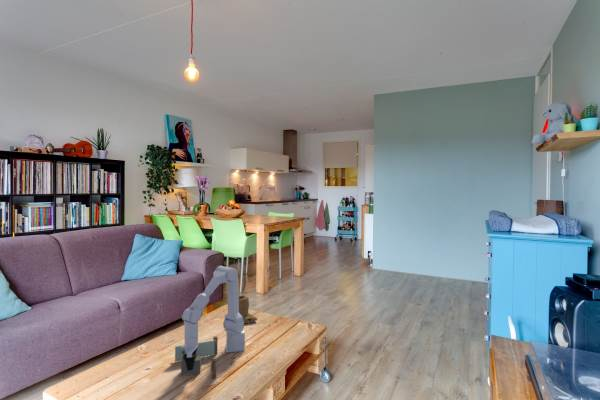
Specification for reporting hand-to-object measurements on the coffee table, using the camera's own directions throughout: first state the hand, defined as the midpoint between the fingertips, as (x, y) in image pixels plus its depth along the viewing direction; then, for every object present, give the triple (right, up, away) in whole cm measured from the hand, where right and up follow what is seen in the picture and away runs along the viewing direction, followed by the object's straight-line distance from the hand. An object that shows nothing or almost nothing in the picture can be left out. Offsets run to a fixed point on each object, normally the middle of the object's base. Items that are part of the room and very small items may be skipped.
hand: (191, 365), depth 145 cm
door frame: (+9, -3, +6) cm, 11 cm away
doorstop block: (0, -3, 0) cm, 3 cm away
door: (-1, -2, +12) cm, 12 cm away
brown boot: (+13, -2, +59) cm, 60 cm away
